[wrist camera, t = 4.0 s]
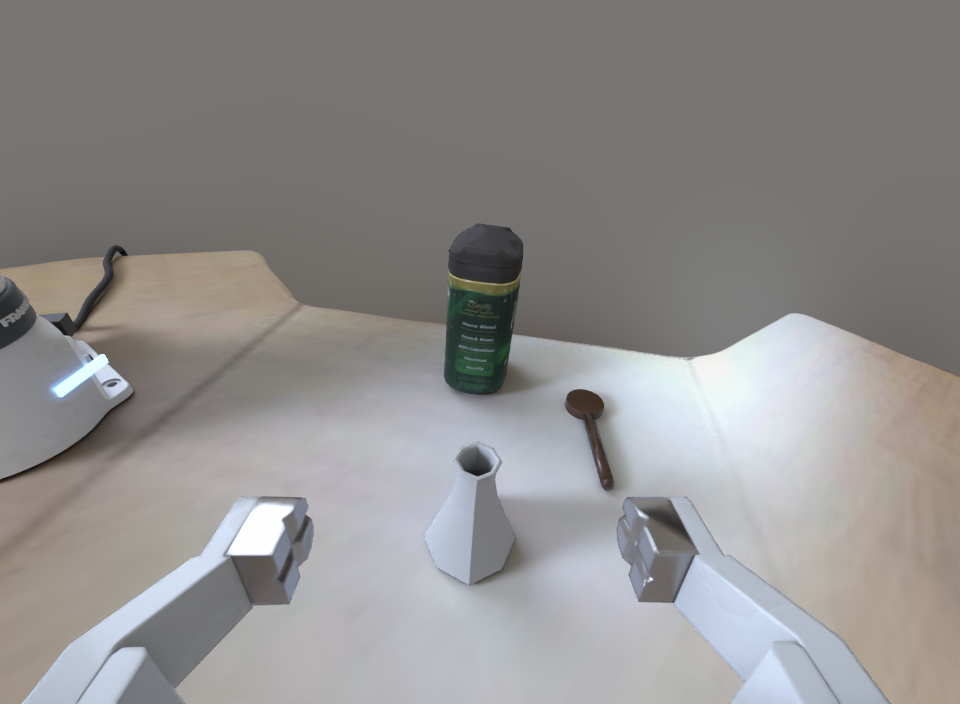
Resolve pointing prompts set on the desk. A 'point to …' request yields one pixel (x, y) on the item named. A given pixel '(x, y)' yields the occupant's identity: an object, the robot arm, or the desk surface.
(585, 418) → the wooden spoon
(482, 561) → the flask
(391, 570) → the desk surface
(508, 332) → the coffee jar
